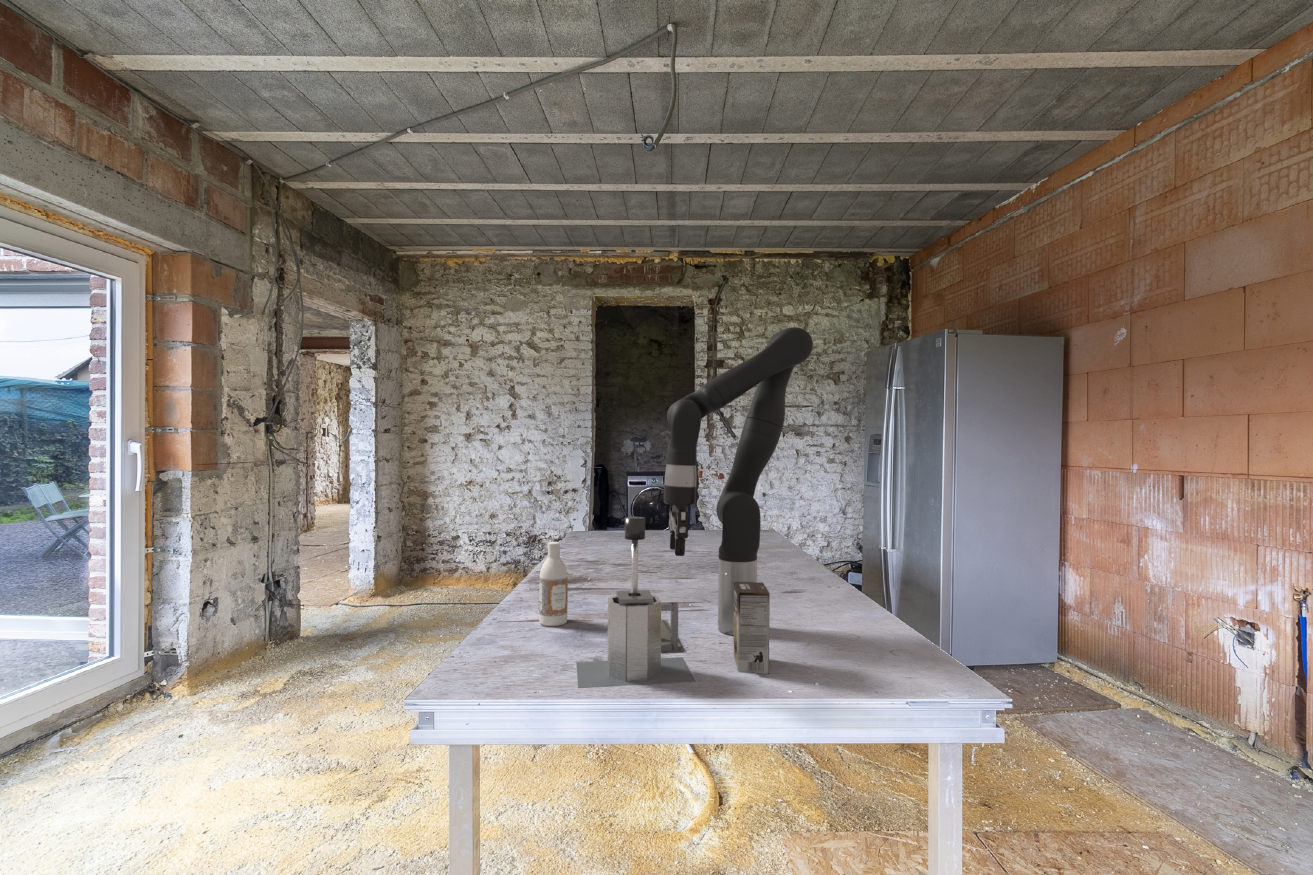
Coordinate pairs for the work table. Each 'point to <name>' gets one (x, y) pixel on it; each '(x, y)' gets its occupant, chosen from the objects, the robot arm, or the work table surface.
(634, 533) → the plunger
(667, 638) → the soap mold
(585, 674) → the mat
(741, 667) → the coffee box
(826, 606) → the work table surface
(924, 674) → the work table surface
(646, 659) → the carafe
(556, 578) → the bath foam
